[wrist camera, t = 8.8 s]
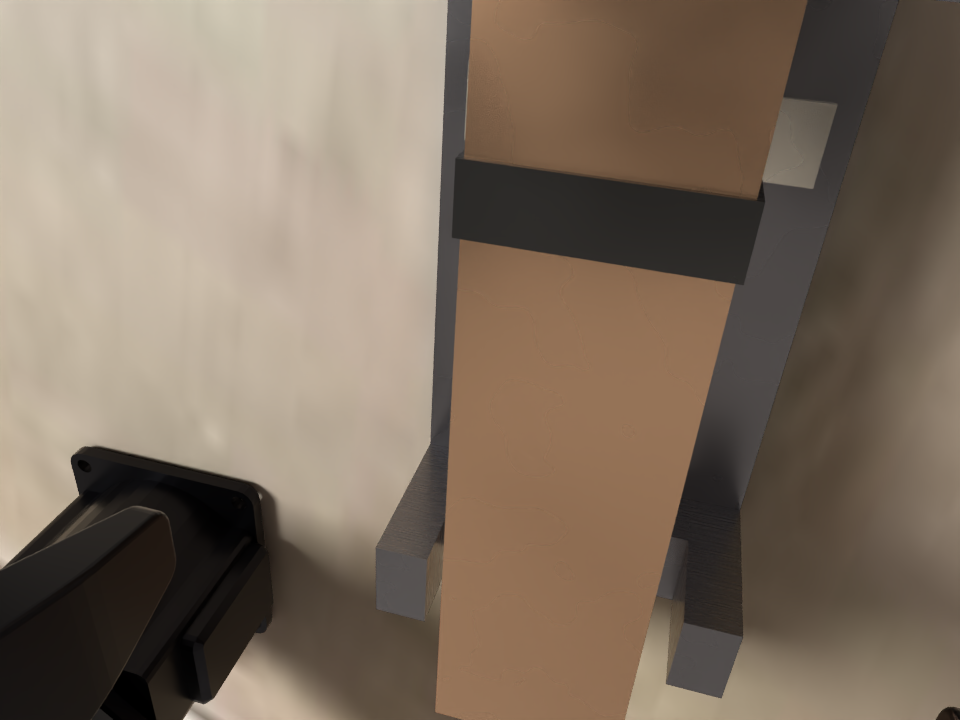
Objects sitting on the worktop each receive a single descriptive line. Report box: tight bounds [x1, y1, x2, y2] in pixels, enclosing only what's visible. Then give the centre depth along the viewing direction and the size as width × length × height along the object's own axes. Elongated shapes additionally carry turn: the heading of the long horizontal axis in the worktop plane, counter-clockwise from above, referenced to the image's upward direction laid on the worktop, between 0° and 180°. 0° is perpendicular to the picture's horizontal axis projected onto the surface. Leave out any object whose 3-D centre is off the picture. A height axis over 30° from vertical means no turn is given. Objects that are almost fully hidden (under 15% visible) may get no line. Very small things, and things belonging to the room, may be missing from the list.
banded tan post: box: [435, 0, 808, 720], centre depth 14 cm, size 4×18×4 cm, turn 176°
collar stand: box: [376, 0, 960, 698], centre depth 16 cm, size 8×18×5 cm, turn 176°
